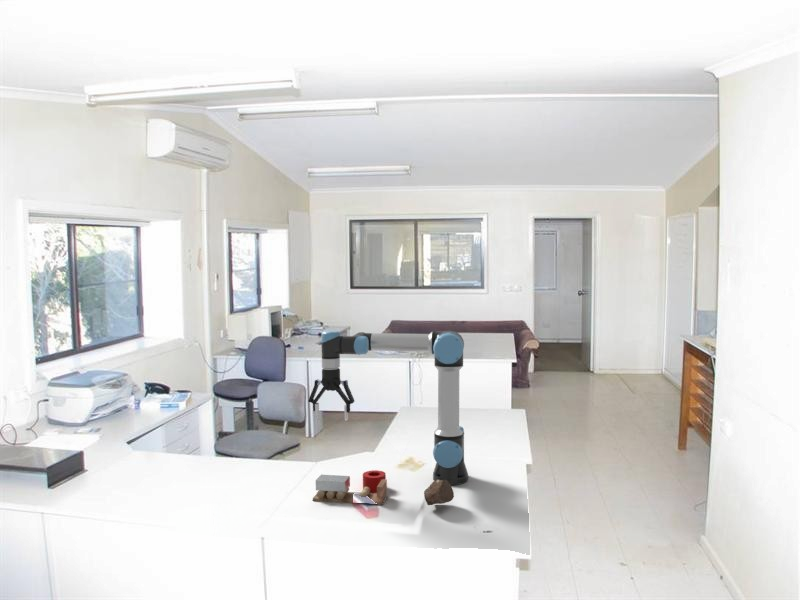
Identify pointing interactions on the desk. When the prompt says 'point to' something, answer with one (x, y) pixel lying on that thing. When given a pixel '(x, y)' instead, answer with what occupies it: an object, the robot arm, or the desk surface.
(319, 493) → the roller
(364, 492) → the roller
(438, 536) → the desk surface
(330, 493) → the cylinder
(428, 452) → the desk surface
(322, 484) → the slab
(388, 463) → the desk surface
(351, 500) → the board
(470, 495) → the desk surface
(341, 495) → the roller
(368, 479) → the lever
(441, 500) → the rock
